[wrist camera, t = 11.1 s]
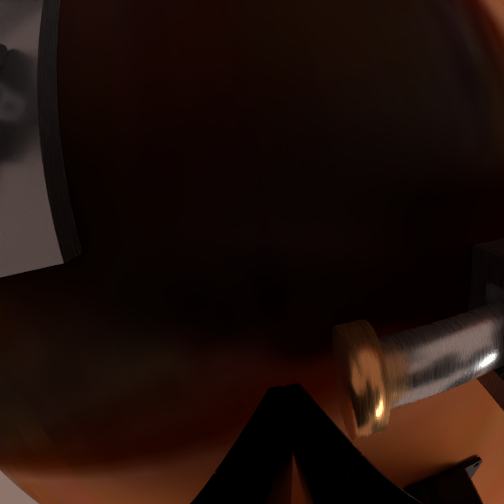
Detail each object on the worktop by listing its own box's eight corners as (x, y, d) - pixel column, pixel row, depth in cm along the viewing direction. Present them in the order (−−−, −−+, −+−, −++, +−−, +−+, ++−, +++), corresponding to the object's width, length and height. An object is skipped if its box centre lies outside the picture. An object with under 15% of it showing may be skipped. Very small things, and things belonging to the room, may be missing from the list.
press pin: (514, 329, 9) (559, 366, 6) (334, 388, 10) (354, 462, 6) (526, 255, 8) (582, 283, 5) (329, 305, 9) (360, 373, 5)
